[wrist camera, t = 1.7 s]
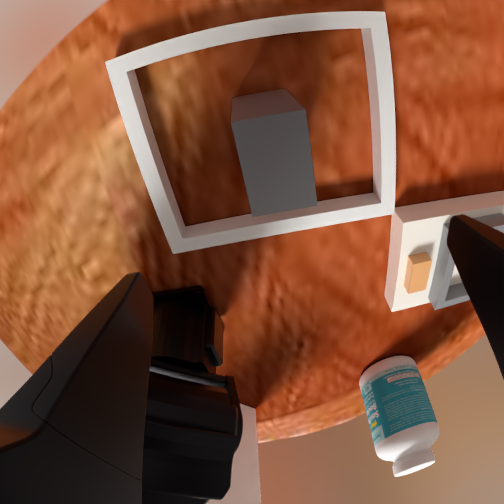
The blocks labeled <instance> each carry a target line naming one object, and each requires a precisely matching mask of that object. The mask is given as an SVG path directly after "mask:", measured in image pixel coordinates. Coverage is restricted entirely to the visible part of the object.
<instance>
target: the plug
mask: <svg viewBox="0 0 504 504" xmlns="http://www.w3.org/2000/svg"><path fill="white" fill-rule="evenodd" d="M231 126H232V130H233V134H234V139H235V143H236V147H237V152H238V156H239V160H240V165H241V169H242V173H243V178H244V182H245V186H246V191H247V195H248V200H249V204H250V208H251V213H252V217H258V216H263V215H269V214H274V213H280V212H285V211H291V210H296V209H302V208H308V207H313V206H317V196H316V186H315V177H314V169H313V160H312V152H311V144H310V137H309V129H308V122H307V115H306V109H305V108H304V107H303V106H302V105H301V104H300V103H299V102H298V101H297V100H296V99H295V98H294V97H293V96H292V95H291V94H290V93H289V92H288V91H287V90H286V89H285V88H284V89H278V90H271V91H266V92H260V93H254V94H249V95H244V96H239V97H234V98H232V113H231Z"/></svg>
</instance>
